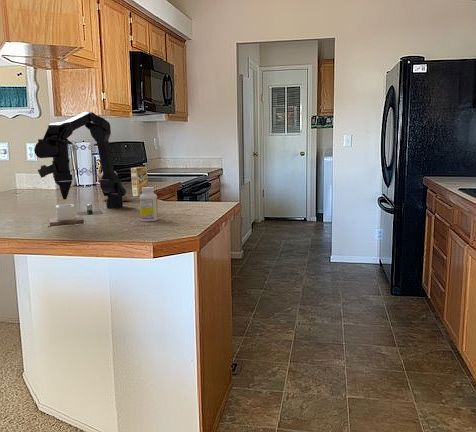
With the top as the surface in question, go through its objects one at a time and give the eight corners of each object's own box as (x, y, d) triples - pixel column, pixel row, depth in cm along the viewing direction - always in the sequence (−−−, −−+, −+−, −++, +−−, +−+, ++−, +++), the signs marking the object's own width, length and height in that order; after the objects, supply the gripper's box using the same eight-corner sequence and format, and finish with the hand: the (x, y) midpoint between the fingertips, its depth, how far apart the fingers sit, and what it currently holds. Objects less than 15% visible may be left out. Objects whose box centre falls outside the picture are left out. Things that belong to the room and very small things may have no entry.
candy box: (138, 196, 258) (136, 168, 256) (132, 196, 261) (130, 168, 258) (148, 194, 266) (147, 166, 263) (142, 194, 268) (141, 166, 265)
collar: (74, 216, 189) (73, 204, 188) (75, 219, 183) (74, 206, 182) (56, 218, 186) (55, 205, 185) (57, 220, 180) (56, 207, 180)
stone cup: (97, 200, 246) (95, 171, 243) (119, 198, 252) (118, 170, 249) (105, 204, 233) (103, 173, 230) (129, 201, 239) (127, 171, 236)
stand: (100, 212, 207) (100, 202, 206) (103, 216, 198) (103, 205, 197) (76, 214, 203) (75, 204, 202) (78, 218, 194) (77, 207, 193)
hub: (81, 218, 192) (80, 206, 192) (83, 223, 181) (82, 210, 181) (49, 221, 188) (48, 209, 187) (50, 226, 177) (48, 213, 176)
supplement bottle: (150, 218, 190) (149, 186, 188) (161, 219, 186) (160, 187, 184) (137, 220, 185) (135, 187, 183) (148, 222, 181) (146, 188, 179)
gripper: (37, 156, 186) (41, 196, 189) (37, 158, 169) (41, 202, 171) (68, 155, 190) (71, 194, 193) (71, 157, 173) (74, 200, 176)
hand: (64, 198), depth 183 cm, fingers open, 9 cm apart
